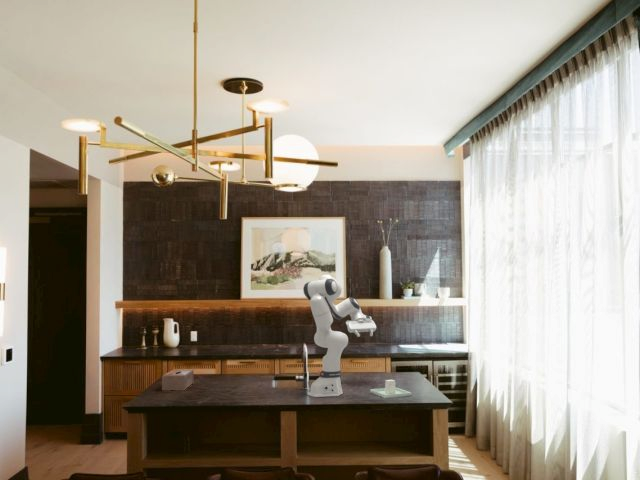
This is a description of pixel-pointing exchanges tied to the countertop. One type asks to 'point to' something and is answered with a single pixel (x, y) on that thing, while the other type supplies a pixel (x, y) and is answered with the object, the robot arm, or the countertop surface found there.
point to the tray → (398, 394)
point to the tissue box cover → (177, 380)
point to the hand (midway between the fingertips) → (365, 335)
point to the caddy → (390, 387)
